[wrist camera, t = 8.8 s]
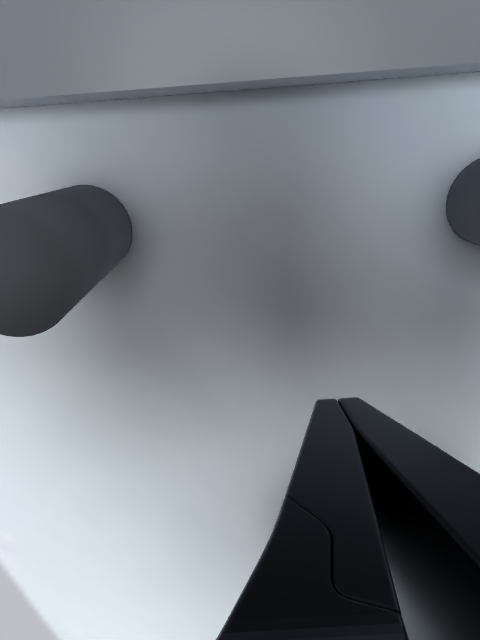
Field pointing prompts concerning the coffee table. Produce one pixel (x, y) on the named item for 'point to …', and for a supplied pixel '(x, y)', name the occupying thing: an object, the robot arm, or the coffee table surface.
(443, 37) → the breaker panel
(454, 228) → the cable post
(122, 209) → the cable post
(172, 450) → the coffee table surface
